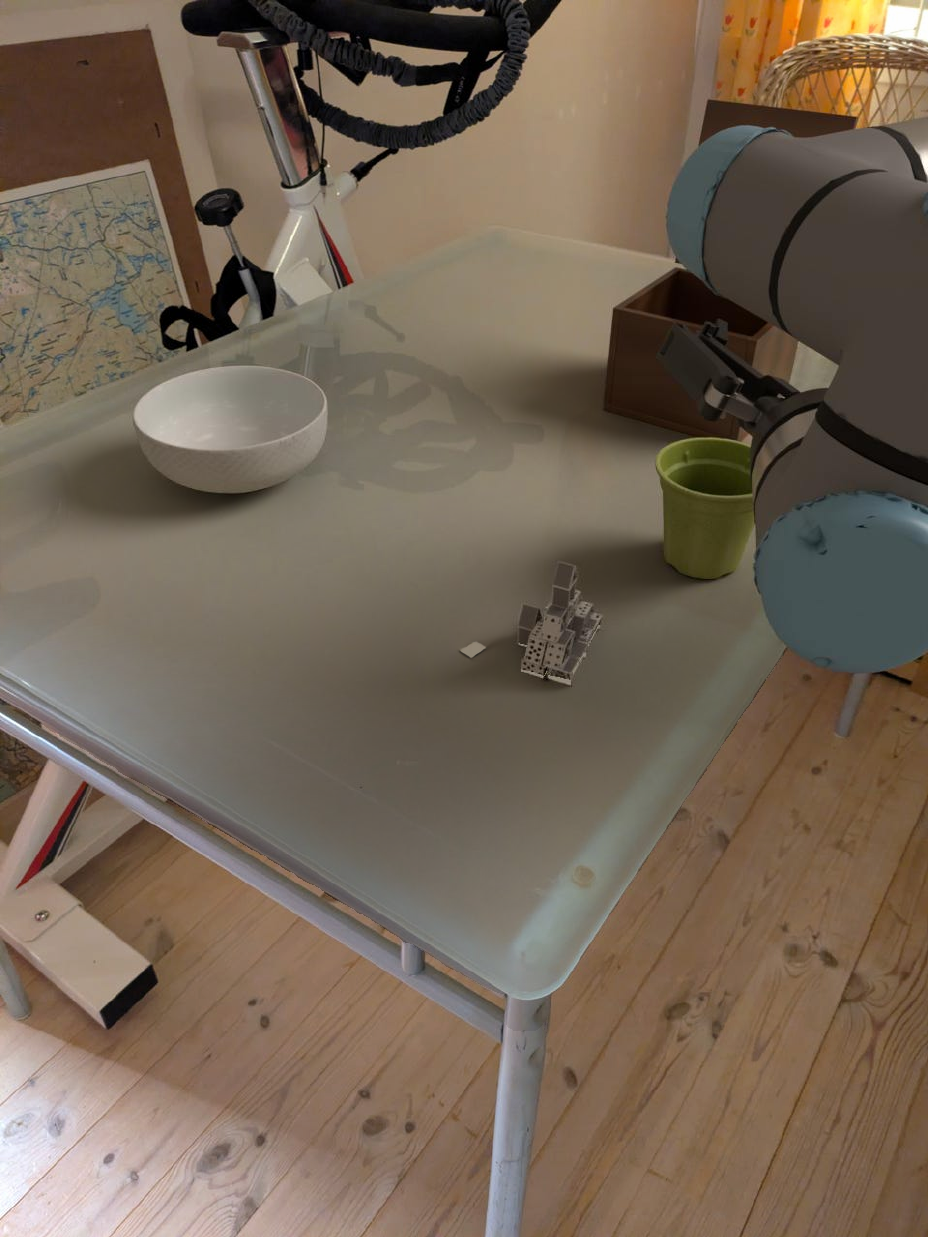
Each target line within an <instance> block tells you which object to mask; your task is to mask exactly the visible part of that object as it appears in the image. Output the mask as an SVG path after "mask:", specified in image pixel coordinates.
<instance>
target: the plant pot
mask: <svg viewBox="0 0 928 1237" xmlns="http://www.w3.org/2000/svg"><path fill="white" fill-rule="evenodd" d="M750 448H751V444H748V443H744V442H743V441H741V442H738V441H734V440H729V439H720V438H711V437H709V438H700V437H691V438H686V439H685V438H684V439H681V440H677V441H675V442H672V443H669V444H668V445H666V446H664V447H663V448H662V449H660V450H659V452H658V453H657V455H656V457H655V460H654V461H655V462H654V466H655V470H656V473H657V475H658V477H659V485H660V487H661V490H662V513H663V514H662V515H663V516H662V517H663V557H664V560H665V562H666V563H667V564H670V565H671V566H673V567H674V568H675V569H676V570H677V571H678V573H680V574H682V575H685V576H687V577H692V578H697V579H703V580H710V579H711V580H713V579H714V580H715V579H719V578H721V577H722V576H724V575H726V574H729V573H734V572H736V570H737V569H738V568H739V566H740V565H741V564H740V563H741V560H742V558H743V557H744V556H743V555H744V553H745V550H746V547H747V545H748V542H749V540H750V537H751V535H752V532H753V529H754V528H755V523H754V509H753V495H752V485H751V475H750Z"/></svg>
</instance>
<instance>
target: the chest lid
mask: <svg viewBox="0 0 928 1237" xmlns="http://www.w3.org/2000/svg"><path fill="white" fill-rule="evenodd" d="M859 118H860V117H859V116H854V115H847V114H846V115H845V114H837V113H829V112H820V111H814V110H813V111H811V110H805V109H804V110H803V109H796V108H787V107H778V106H769V105H762V104H753V103H752V104H751V103H744V102H735V101H727V100H719V99H710V98H709V99H707V100H706V107H705V110H704V114H703V120H702V125H701V129H700V135H699V139H698V146H697V148H698V147H699V146H700V145H701V144H702V143H703V142H704V141H706V140H707V139H708V138H710V137H711V136H713V135H715V134H716V133H718V132H720V131H722V130H725V129H728V128H731V127H736V126H744V125H749V126H757V127H761V128H768V127H775V128H776V129H781V130H785V131H787V132H788V133H790V134H791V135H792V136H793V137H796V138H808V137H816V136H821V135H827V134H832V133H837V132H842V131H847V130H852V129H857V126H858V121H859ZM674 263H675V264H679V265H682V264H681V263H680V262H679V261H678V259H677V258H676V257H675V260H674Z"/></svg>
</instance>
